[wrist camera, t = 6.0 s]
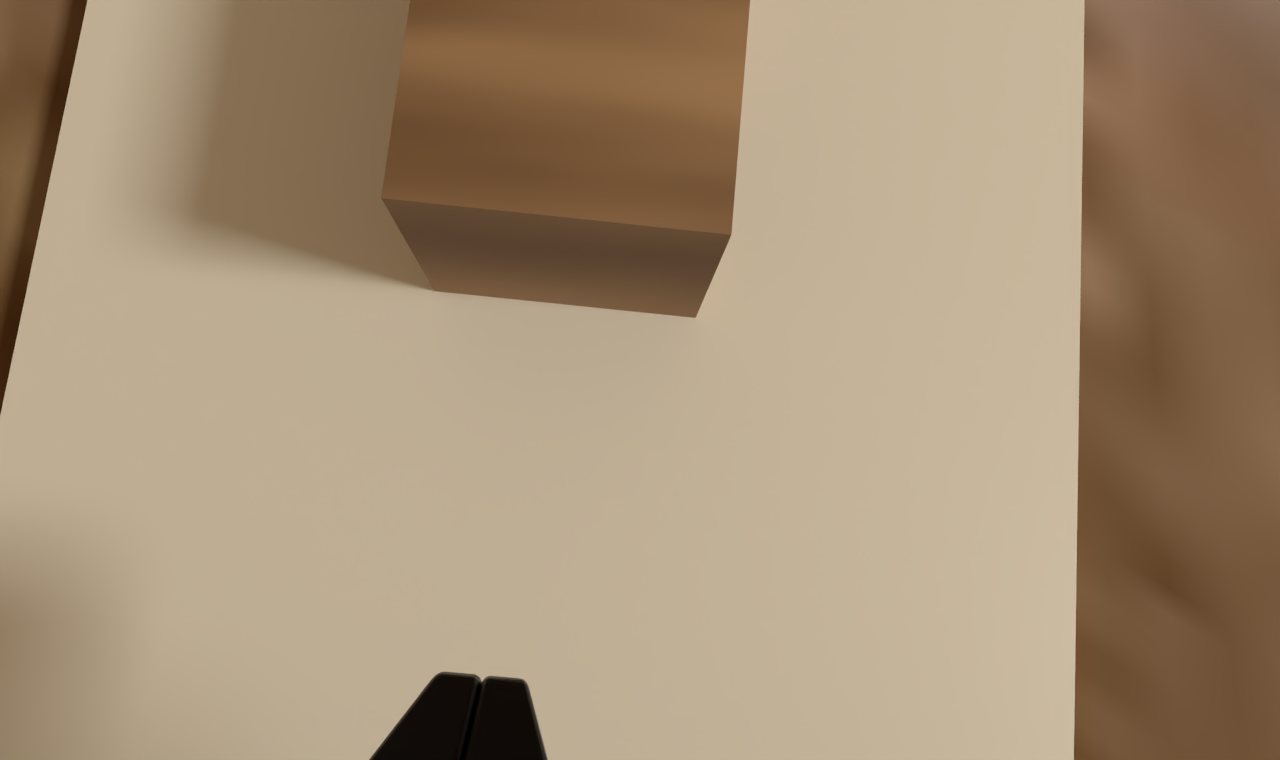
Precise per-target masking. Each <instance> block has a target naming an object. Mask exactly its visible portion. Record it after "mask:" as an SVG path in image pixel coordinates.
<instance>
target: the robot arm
mask: <svg viewBox="0 0 1280 760" xmlns="http://www.w3.org/2000/svg"><path fill="white" fill-rule="evenodd" d="M369 760H548V759H547V755H546V751H545V747H544V743H543V739H542V736H541V732H540V728H539V724H538V720H537V716H536V712H535V709H534V705H533V701H532V697H531V693H530V689H529V686H528V684H527V682H526V681H525V680H523V679H521V678H512V677H501V676H488V677H486V678H484V680H483V681H481V678H480V677H479V676H478V675H475V674H467V673H456V672H440V673H438V674H436V675H435V676H434V677H433V678H432V679H431V680H430V682H429V683H428V684H427V685H426V687H425V688H424V689H423V691H422V692H421V693H420V694H419V696H418V697H417V698H416V700H415V701H414V702H413V704H412V705H411V706H410V707H409V709H408V710H407V711H406V713H405V714H404V715H403V716H402V718H401V719H400V720H399V722H398V723H397V724H396V725H395V727H394V728H393V729H392V731H391V732H390V733H389V734H388V736H387V737H386V738H385V740H384V741H383V742H382V743H381V745H380V746H379V747H378V749H377V750H376V751H375V753H374V754H373V755H372V756H371V758H370V759H369Z"/></svg>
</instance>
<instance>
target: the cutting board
mask: <svg viewBox="0 0 1280 760" xmlns="http://www.w3.org/2000/svg"><path fill="white" fill-rule="evenodd" d="M409 5H410V0H87V5H86V10H85V14H84V19H83V24H82V29H81V34H80V38H79V43H78V48H77V53H76V57H75V62H74V67H73V72H72V76H71V81H70V86H69V91H68V95H67V100H66V105H65V110H64V114H63V119H62V124H61V129H60V133H59V138H58V143H57V148H56V153H55V157H54V162H53V167H52V172H51V176H50V181H49V186H48V191H47V195H46V200H45V205H44V210H43V214H42V219H41V224H40V229H39V233H38V238H37V243H36V248H35V252H34V257H33V262H32V267H31V271H30V276H29V281H28V286H27V291H26V295H25V300H24V305H23V310H22V314H21V319H20V324H19V329H18V333H17V338H16V343H15V348H14V352H13V357H12V362H11V367H10V371H9V376H8V381H7V386H6V390H5V395H4V400H3V405H2V410H1V414H0V760H369V759H370V758H371V756H372V755H373V754H374V753H375V751H376V750H377V749H378V747H379V746H380V745H381V743H382V742H383V741H384V740H385V738H386V737H387V736H388V734H389V733H390V732H391V731H392V729H393V728H394V727H395V725H396V724H397V723H398V722H399V720H400V719H401V718H402V716H403V715H404V714H405V713H406V711H407V710H408V709H409V707H410V706H411V705H412V704H413V702H414V701H415V700H416V698H417V697H418V696H419V694H420V693H421V692H422V691H423V689H424V688H425V687H426V685H427V684H428V683H429V682H430V680H431V679H432V678H433V677H434V676H435V675H436V674H438V673H440V672H456V673H467V674H475V675H478V676H479V677H480V678H481V681H483V680H484V678H486V677H488V676H501V677H512V678H521V679H523V680H525V681H526V682H527V684H528V686H529V689H530V693H531V697H532V701H533V705H534V709H535V712H536V716H537V720H538V724H539V728H540V732H541V736H542V739H543V743H544V747H545V751H546V755H547V759H548V760H1074V705H1075V634H1076V563H1077V492H1078V421H1079V350H1080V279H1081V208H1082V136H1083V65H1084V0H750V8H749V21H748V33H747V46H746V58H745V71H744V84H743V96H742V109H741V121H740V134H739V146H738V159H737V171H736V184H735V196H734V209H733V221H732V234H731V237H730V239H729V242H728V244H727V246H726V249H725V251H724V253H723V256H722V258H721V260H720V262H719V265H718V267H717V269H716V272H715V274H714V276H713V279H712V281H711V283H710V286H709V288H708V290H707V293H706V295H705V297H704V300H703V302H702V304H701V307H700V309H699V311H698V313H697V316H696V318H692V317H682V316H672V315H662V314H653V313H643V312H633V311H623V310H614V309H604V308H594V307H584V306H574V305H565V304H555V303H545V302H535V301H526V300H516V299H506V298H496V297H486V296H477V295H467V294H457V293H447V292H438V291H434V289H433V288H432V286H431V284H430V282H429V281H428V279H427V277H426V275H425V274H424V272H423V270H422V268H421V267H420V265H419V263H418V261H417V260H416V258H415V256H414V254H413V253H412V251H411V249H410V248H409V246H408V244H407V242H406V241H405V239H404V237H403V235H402V234H401V232H400V230H399V228H398V227H397V225H396V223H395V221H394V220H393V218H392V216H391V214H390V213H389V211H388V209H387V207H386V206H385V204H384V202H383V200H382V199H381V196H382V189H383V182H384V175H385V168H386V162H387V155H388V148H389V141H390V134H391V127H392V121H393V114H394V107H395V100H396V93H397V87H398V80H399V73H400V66H401V59H402V52H403V46H404V39H405V32H406V25H407V18H408V12H409Z"/></svg>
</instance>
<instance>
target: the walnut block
mask: <svg viewBox="0 0 1280 760" xmlns="http://www.w3.org/2000/svg"><path fill="white" fill-rule="evenodd" d="M749 8H750V0H410V5H409V12H408V18H407V25H406V32H405V39H404V46H403V52H402V59H401V66H400V73H399V80H398V87H397V93H396V100H395V107H394V114H393V121H392V127H391V134H390V141H389V148H388V155H387V162H386V168H385V175H384V182H383V189H382V196H381V199H382V200H383V202H384V204H385V206H386V207H387V209H388V211H389V213H390V214H391V216H392V218H393V220H394V221H395V223H396V225H397V227H398V228H399V230H400V232H401V234H402V235H403V237H404V239H405V241H406V242H407V244H408V246H409V248H410V249H411V251H412V253H413V254H414V256H415V258H416V260H417V261H418V263H419V265H420V267H421V268H422V270H423V272H424V274H425V275H426V277H427V279H428V281H429V282H430V284H431V286H432V288H433V289H434V291H438V292H447V293H457V294H467V295H477V296H486V297H496V298H506V299H516V300H526V301H535V302H545V303H555V304H565V305H574V306H584V307H594V308H604V309H614V310H623V311H633V312H643V313H653V314H662V315H672V316H682V317H692V318H696V316H697V313H698V311H699V309H700V307H701V304H702V302H703V300H704V297H705V295H706V293H707V290H708V288H709V286H710V283H711V281H712V279H713V276H714V274H715V272H716V269H717V267H718V265H719V262H720V260H721V258H722V256H723V253H724V251H725V249H726V246H727V244H728V242H729V239H730V237H731V234H732V221H733V209H734V196H735V184H736V171H737V159H738V146H739V134H740V121H741V109H742V96H743V84H744V71H745V58H746V46H747V33H748V21H749Z"/></svg>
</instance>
